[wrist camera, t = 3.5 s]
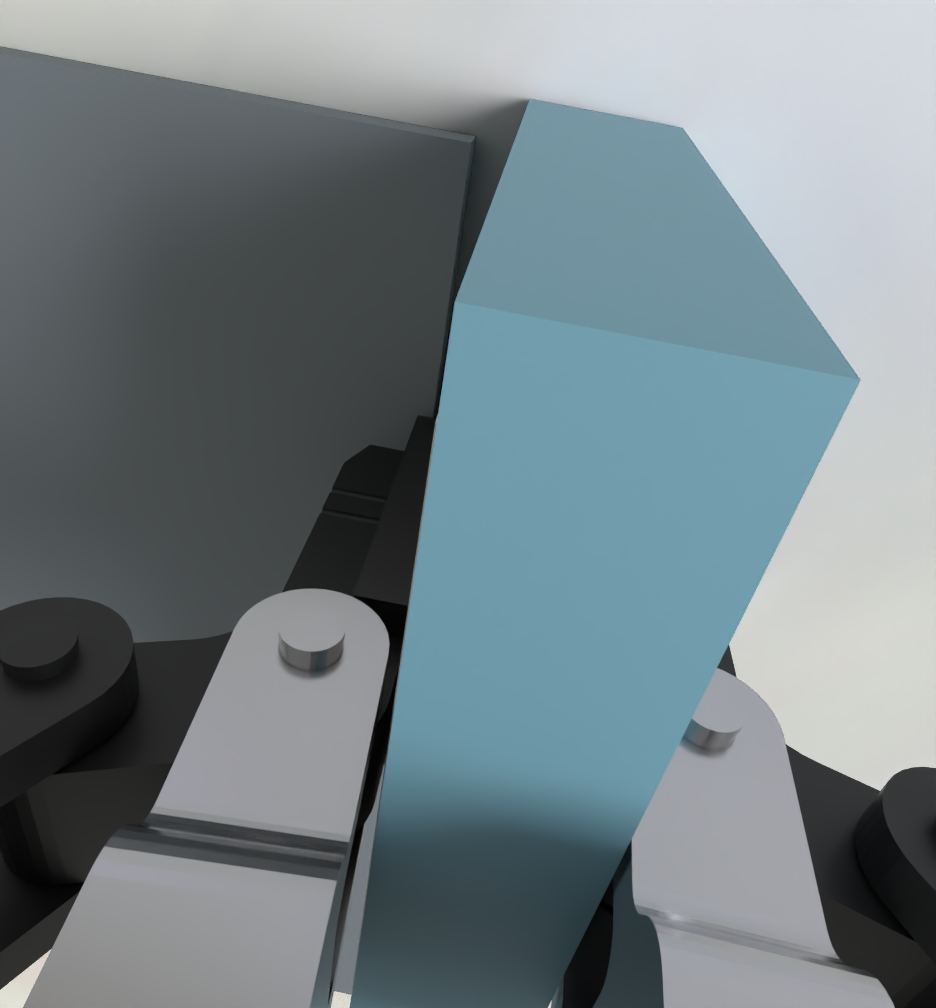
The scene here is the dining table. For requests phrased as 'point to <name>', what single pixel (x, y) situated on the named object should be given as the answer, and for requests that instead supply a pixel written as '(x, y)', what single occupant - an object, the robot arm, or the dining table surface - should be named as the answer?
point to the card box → (579, 545)
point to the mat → (204, 336)
